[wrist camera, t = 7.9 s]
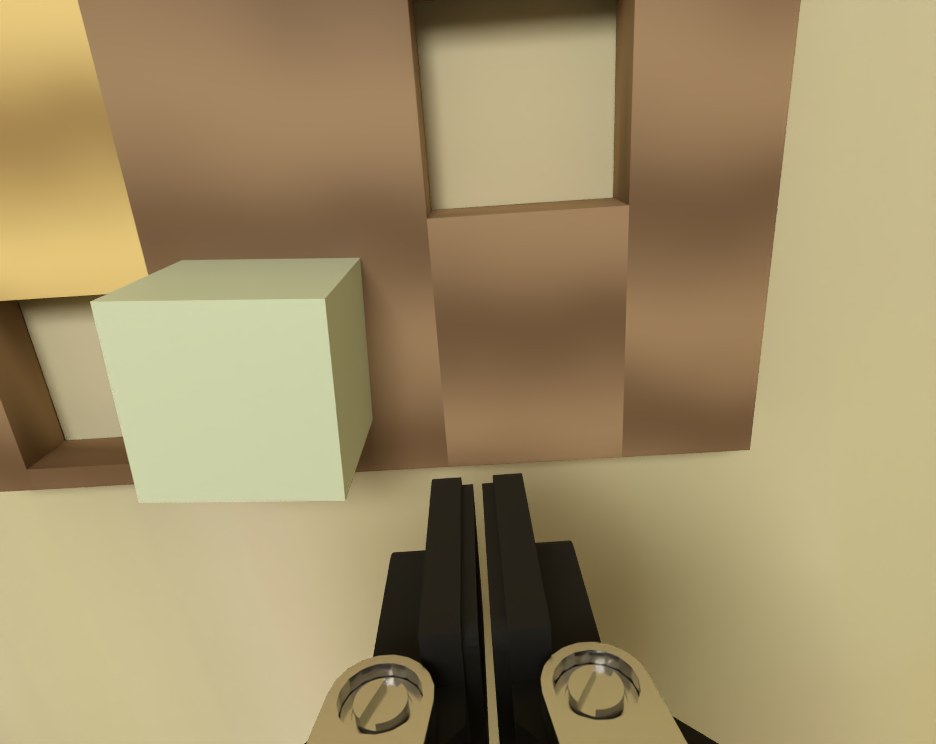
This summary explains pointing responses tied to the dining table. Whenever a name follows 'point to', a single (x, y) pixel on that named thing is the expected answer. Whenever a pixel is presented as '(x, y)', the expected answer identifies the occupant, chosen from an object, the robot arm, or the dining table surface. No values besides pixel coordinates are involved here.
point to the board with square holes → (402, 219)
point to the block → (240, 378)
